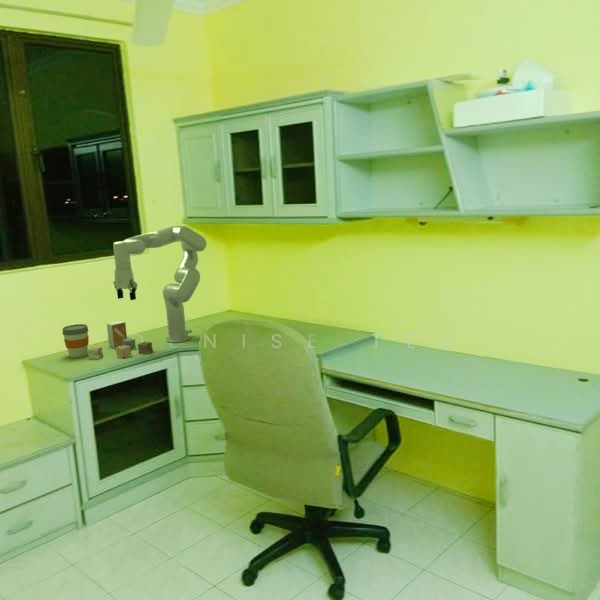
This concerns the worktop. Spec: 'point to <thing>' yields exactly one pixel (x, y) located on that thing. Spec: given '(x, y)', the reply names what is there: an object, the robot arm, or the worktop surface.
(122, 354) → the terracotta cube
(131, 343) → the slate grey cube
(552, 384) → the worktop surface
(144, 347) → the walnut cube
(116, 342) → the small box
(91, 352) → the pale oak cube
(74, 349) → the reusable coffee cup
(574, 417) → the worktop surface
